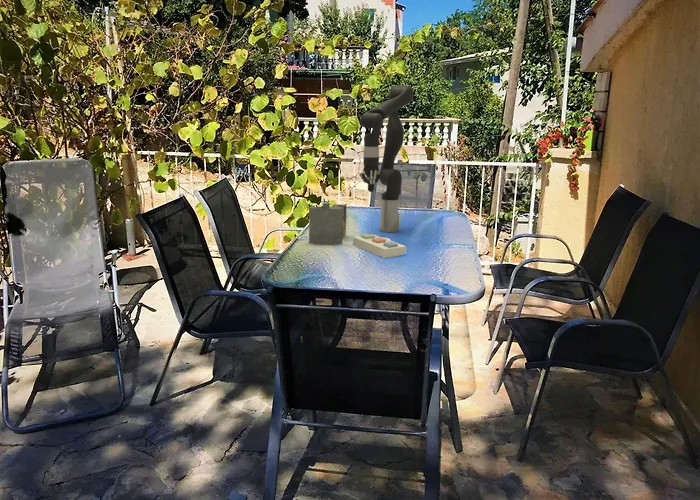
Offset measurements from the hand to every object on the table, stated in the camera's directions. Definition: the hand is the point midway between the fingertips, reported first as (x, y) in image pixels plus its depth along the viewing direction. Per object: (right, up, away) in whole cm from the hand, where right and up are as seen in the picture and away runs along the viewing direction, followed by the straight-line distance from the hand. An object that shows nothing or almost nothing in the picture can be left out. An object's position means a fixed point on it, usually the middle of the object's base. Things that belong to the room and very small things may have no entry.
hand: (370, 191), depth 262 cm
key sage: (-2, -24, -5) cm, 25 cm away
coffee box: (-16, -22, +10) cm, 29 cm away
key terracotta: (+3, -26, -13) cm, 29 cm away
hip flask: (-22, -26, -3) cm, 34 cm away
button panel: (+3, -29, -12) cm, 31 cm away
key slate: (+8, -28, -20) cm, 36 cm away
